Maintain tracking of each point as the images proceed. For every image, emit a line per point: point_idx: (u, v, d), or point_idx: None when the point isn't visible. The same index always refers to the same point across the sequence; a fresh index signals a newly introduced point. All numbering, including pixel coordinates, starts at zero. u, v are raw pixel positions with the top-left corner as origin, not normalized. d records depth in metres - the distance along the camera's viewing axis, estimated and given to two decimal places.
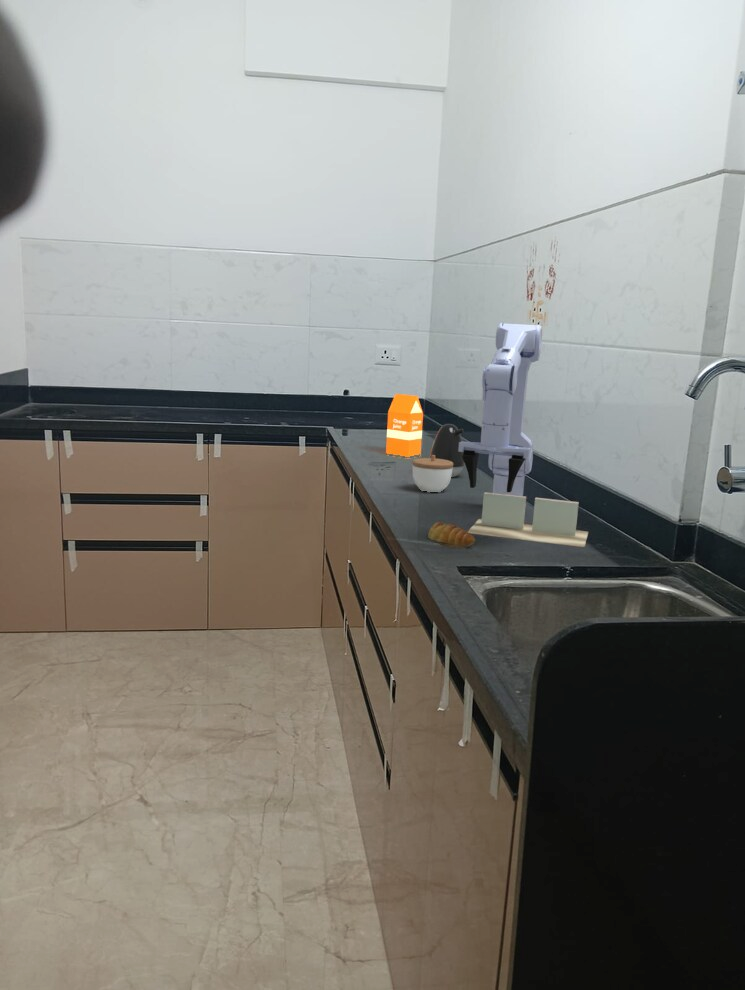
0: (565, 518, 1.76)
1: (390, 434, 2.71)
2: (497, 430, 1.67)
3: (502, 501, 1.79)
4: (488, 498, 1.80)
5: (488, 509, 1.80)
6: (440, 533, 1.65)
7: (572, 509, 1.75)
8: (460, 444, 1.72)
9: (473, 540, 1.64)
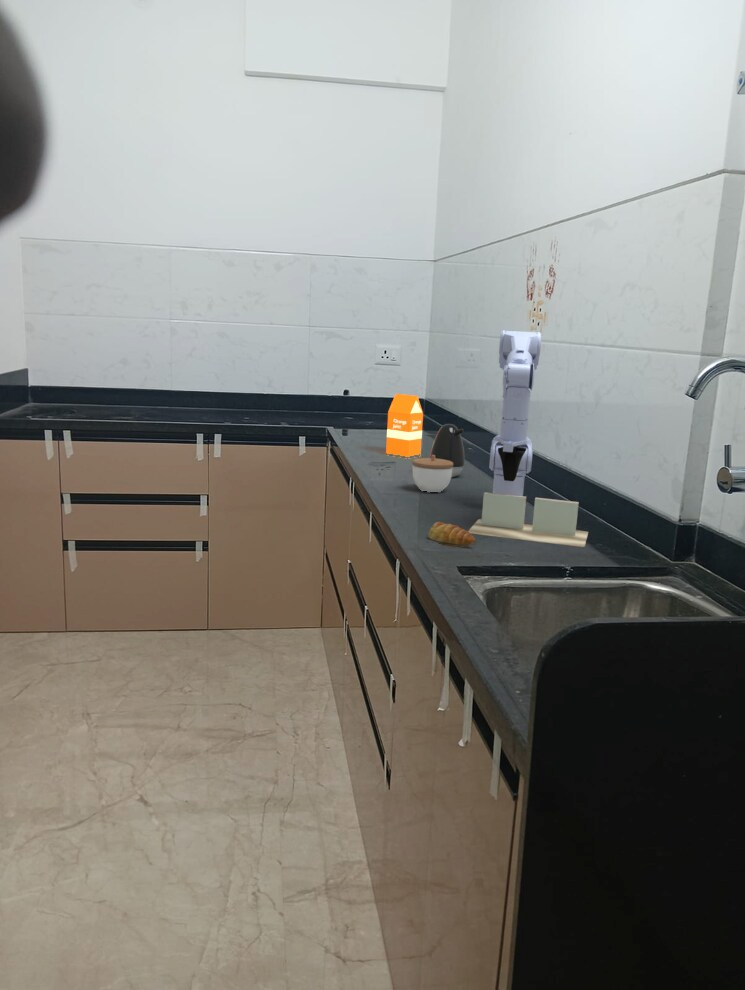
0: (565, 518, 1.76)
1: (390, 434, 2.71)
2: (501, 422, 1.81)
3: (502, 501, 1.79)
4: (488, 498, 1.80)
5: (488, 509, 1.80)
6: (441, 532, 1.66)
7: (572, 509, 1.75)
8: None
9: (473, 540, 1.65)
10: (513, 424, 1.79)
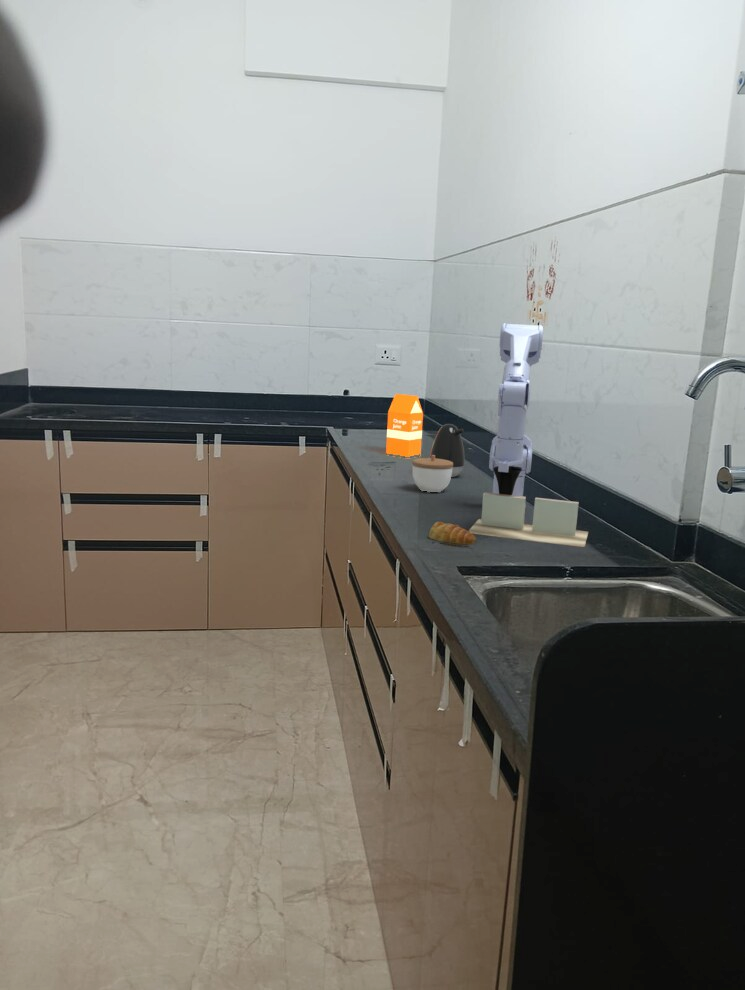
0: (565, 518, 1.76)
1: (390, 434, 2.71)
2: (496, 441, 1.78)
3: (501, 502, 1.78)
4: (487, 499, 1.79)
5: (488, 510, 1.80)
6: (441, 532, 1.66)
7: (572, 509, 1.75)
8: None
9: (474, 539, 1.65)
10: (509, 443, 1.75)
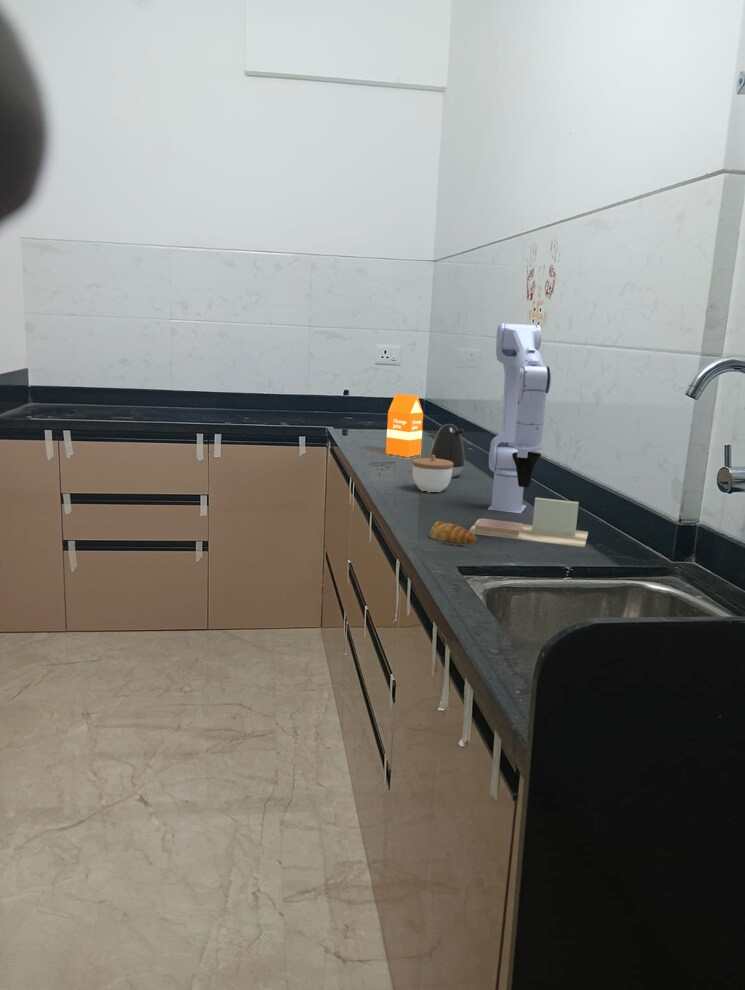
0: (565, 518, 1.76)
1: (390, 434, 2.71)
2: (515, 427, 1.75)
3: None
4: None
5: None
6: (442, 532, 1.66)
7: (572, 509, 1.75)
8: None
9: (475, 539, 1.66)
10: (528, 429, 1.72)
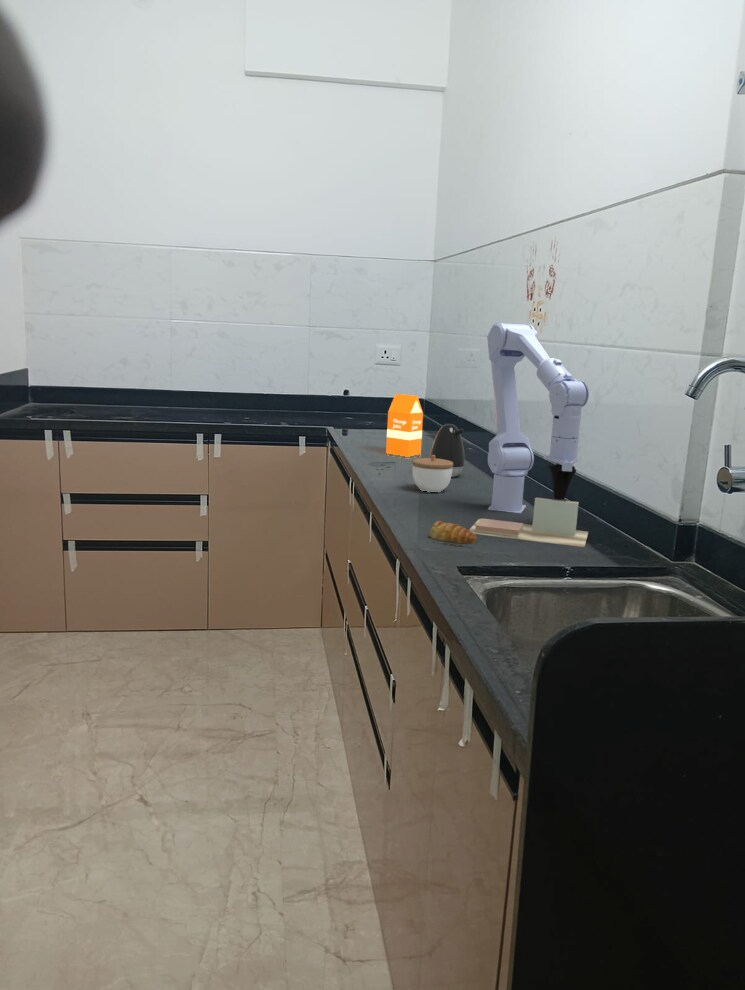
0: (565, 518, 1.76)
1: (390, 434, 2.71)
2: (552, 441, 1.78)
3: None
4: None
5: None
6: (443, 531, 1.66)
7: (572, 509, 1.75)
8: None
9: (475, 538, 1.66)
10: (567, 442, 1.76)
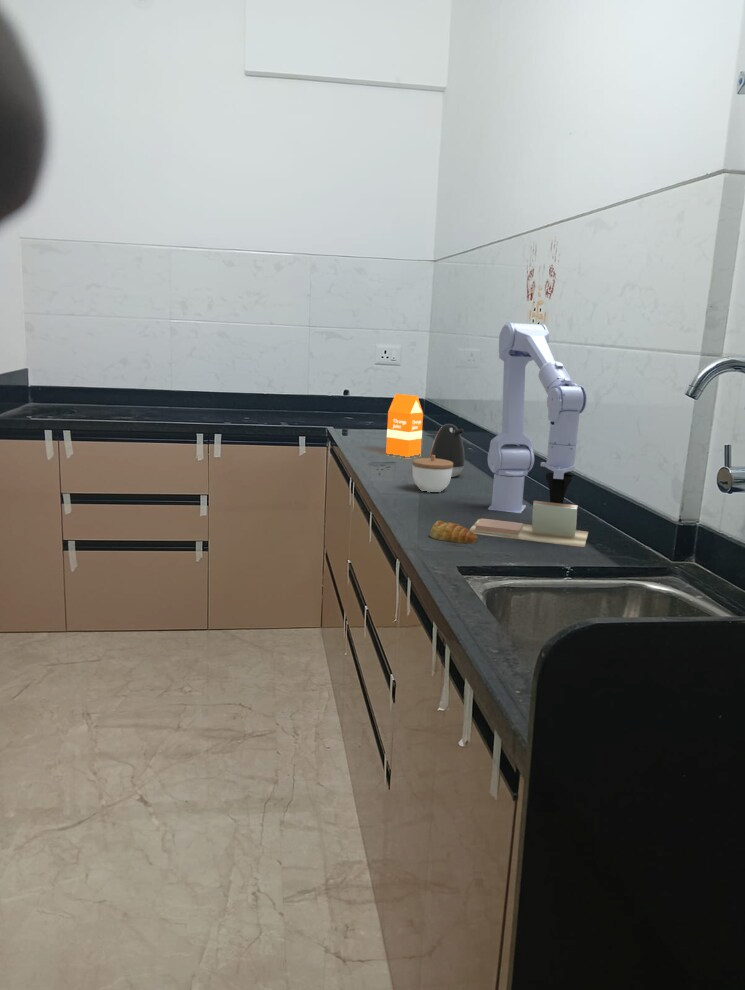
0: (564, 521, 1.74)
1: (390, 434, 2.71)
2: (548, 447, 1.73)
3: None
4: None
5: None
6: (443, 531, 1.67)
7: (571, 514, 1.73)
8: None
9: (476, 538, 1.66)
10: (562, 449, 1.71)
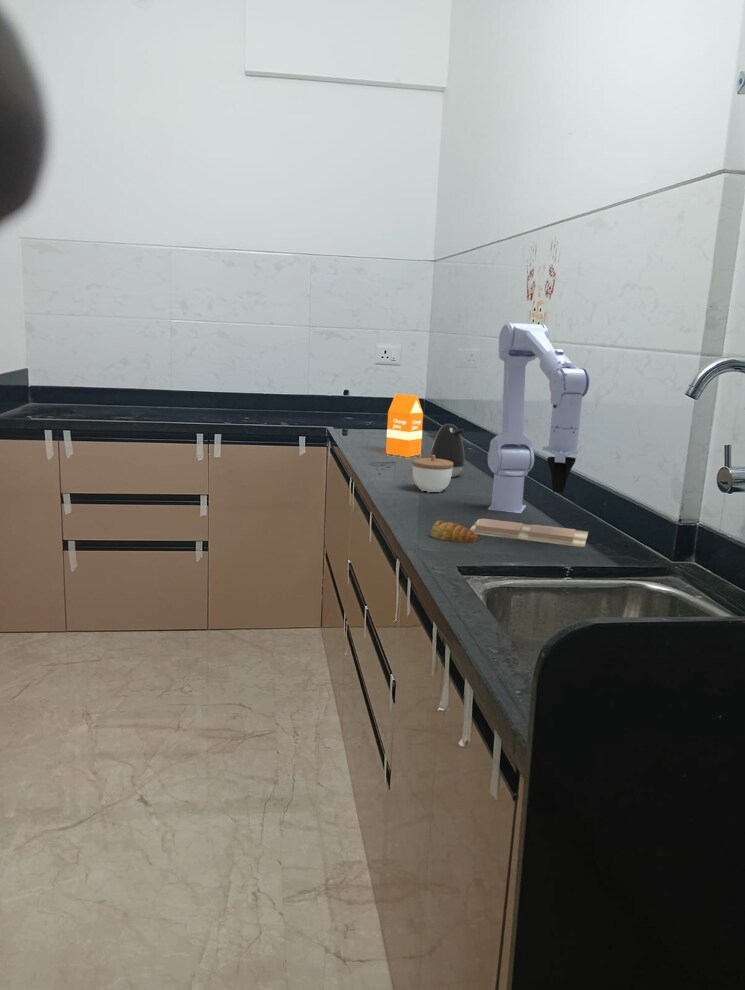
0: None
1: (390, 434, 2.71)
2: (550, 431, 1.71)
3: None
4: None
5: None
6: (444, 531, 1.67)
7: None
8: None
9: (476, 537, 1.67)
10: (564, 433, 1.68)
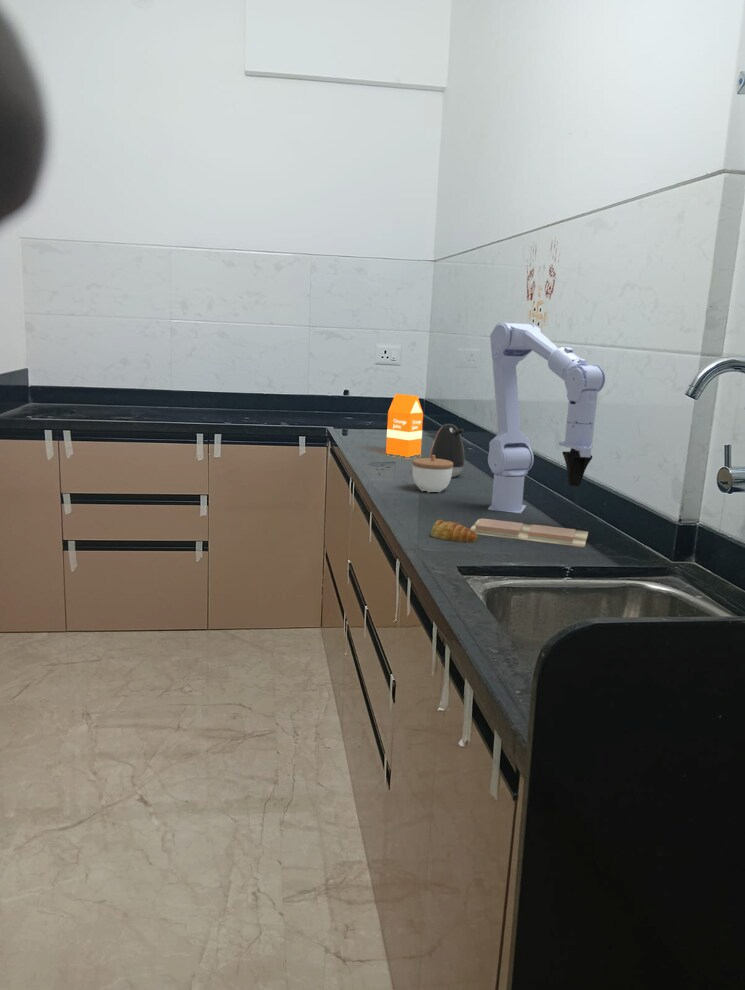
0: None
1: (390, 434, 2.71)
2: (568, 426, 1.75)
3: None
4: None
5: None
6: (444, 530, 1.67)
7: None
8: None
9: (476, 537, 1.67)
10: (584, 428, 1.74)
